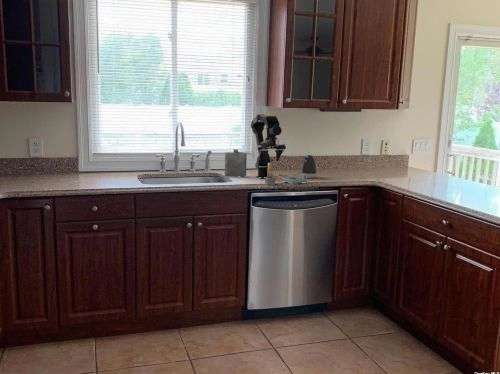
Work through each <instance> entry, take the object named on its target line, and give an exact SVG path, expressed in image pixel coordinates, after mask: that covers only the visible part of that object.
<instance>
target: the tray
mask: <svg viewBox="0 0 500 374" xmlns="http://www.w3.org/2000/svg"><path fill="white" fill-rule="evenodd" d="M281 181H285V182H289V183H291V184H290V185H299V184H298V183H302V182H306V183H307V178H304V177H299V176H294V177H284V178H281ZM281 181H280V182H281ZM302 184H303V183H302Z"/></svg>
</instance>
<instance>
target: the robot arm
mask: <svg viewBox="0 0 500 374" xmlns="http://www.w3.org/2000/svg"><path fill="white" fill-rule="evenodd" d="M265 127H266V128H265ZM250 128H251V131H252V132H253V134H254V135H255V140H256V145H257V151H258V156H257V158H256V162H255V164H254V168H255V169H257V175H256V176H255V177H256V178H258V177H268V163H272V160H271V158H270V154H269V150H273V149H274V151H275V154H276V155H275V156H276V157H275V158H276V162H279V161H280V158H281V155H282V154H283V152H284V151H285V150H286V149H287V147H286V144H277V140H278V137H277V136H280V135H281V134H282V132H283V131H282V128H281V126H280V121H279V119H278V117H277V116H276V115H266V114H263V113H259V114H257V115H256V116H255V117H254V118H253V119H252V121H251V122H250ZM264 129H266V137H264V134H263V132H264ZM264 138H265V139H264Z"/></svg>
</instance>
